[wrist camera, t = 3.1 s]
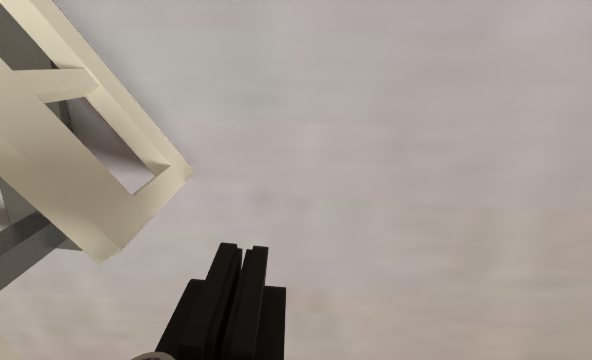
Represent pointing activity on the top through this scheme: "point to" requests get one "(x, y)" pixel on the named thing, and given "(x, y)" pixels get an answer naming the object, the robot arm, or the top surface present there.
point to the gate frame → (23, 215)
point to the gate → (67, 147)
